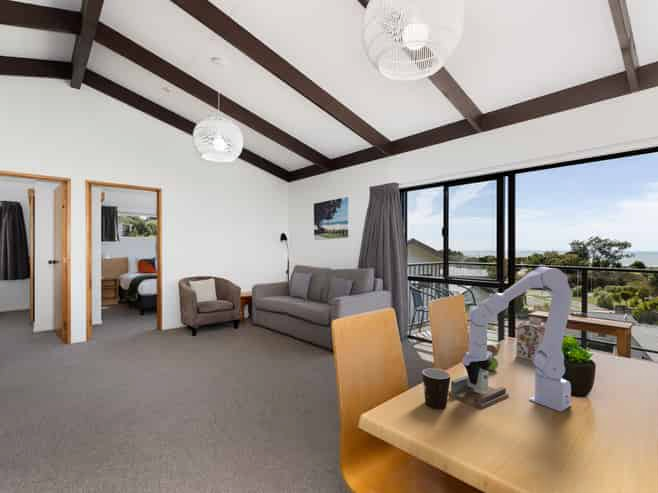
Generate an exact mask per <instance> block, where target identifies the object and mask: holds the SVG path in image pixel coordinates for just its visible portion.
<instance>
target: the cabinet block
mask: <svg viewBox="0 0 658 493" xmlns="http://www.w3.org/2000/svg"><path fill="white" fill-rule="evenodd" d="M467 376H468V375H467ZM468 386H469V387H471V388H474V389H476V390H479V391H483V390H486V389H488V386H489V370H488V371H487V370H484V369H481V368H480V370H479V373H478V380H477V384H476V385H474V384H472V383H470V381H469V376H468Z"/></svg>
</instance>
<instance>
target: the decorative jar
mask: <svg viewBox="0 0 658 493" xmlns="http://www.w3.org/2000/svg"><path fill="white" fill-rule="evenodd" d="M546 323H547V322H543V321H542V319H541V318H538V317H529V319H528V320H522V321H520V322H519V324H518V325H517V327H516V345H515V346H516V347H515V348H516V349H515V352H516V353H515V354H516V357H517V358H518V359H519V358H520V359H522V358H523V359H524V360H527V361H530V360H531V362H533V356H534V354H535V353H536V352H537V350H538V346H539V345H540V344H542V342H543V338H544V333H545V328H546ZM523 359H522V360H523Z"/></svg>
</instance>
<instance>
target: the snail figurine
mask: <svg viewBox="0 0 658 493" xmlns="http://www.w3.org/2000/svg"><path fill="white" fill-rule="evenodd" d="M498 342H499V343H497V344H496V346H495V345H493V344H487V351H489V352H492V358H488V359H487V360H490V361H492V364H491V365H490V367H489V369H488V371H495V370H496V369H497V370H498V367H499V361H498V360H497V358H496V357H497V356H498V355H499V353H500V348H501V343H502V341H501V340H498Z"/></svg>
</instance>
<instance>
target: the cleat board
mask: <svg viewBox="0 0 658 493" xmlns="http://www.w3.org/2000/svg"><path fill="white" fill-rule="evenodd" d="M450 382H451V383H450V388H451V389H450V390H449V391H448V396H451V397H453V398H455V399H458V400H460V401H462V402H464V403H467V404H469V405H471V406H473V407H476V408H478V409H480V410H482V409H486V408H487V407H489V406H491V405H494V404H496V403H498V402H500V401H503V400H505V399H507V398H509V396H510V395H509V394H510V393H507V388H506V387H503V386H500V387H497V388H495V387H492V386H489V385H488V389H486V390H483V391H479V390H476V389H474V388H471V387H469V386H468V375H465V376H462V377H460V378H459V377H458V378H456V379H453V380H450Z"/></svg>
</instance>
